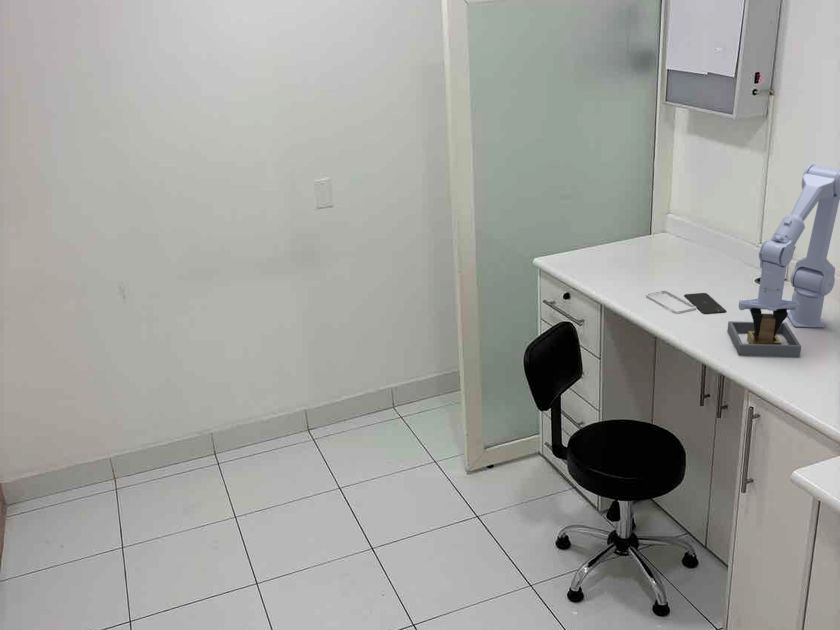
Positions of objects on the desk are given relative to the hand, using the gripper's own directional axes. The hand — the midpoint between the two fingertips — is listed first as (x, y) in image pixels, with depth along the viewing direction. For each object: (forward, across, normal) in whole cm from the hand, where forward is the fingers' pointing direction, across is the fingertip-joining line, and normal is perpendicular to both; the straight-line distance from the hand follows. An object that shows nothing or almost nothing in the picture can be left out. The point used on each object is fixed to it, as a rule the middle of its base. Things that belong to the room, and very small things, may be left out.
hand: (764, 334), depth 224 cm
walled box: (+3, 0, +1) cm, 3 cm away
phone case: (+4, -20, +28) cm, 35 cm away
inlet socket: (+3, 0, 0) cm, 3 cm away
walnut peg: (+2, 0, 0) cm, 2 cm away
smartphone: (+4, -10, +28) cm, 30 cm away
